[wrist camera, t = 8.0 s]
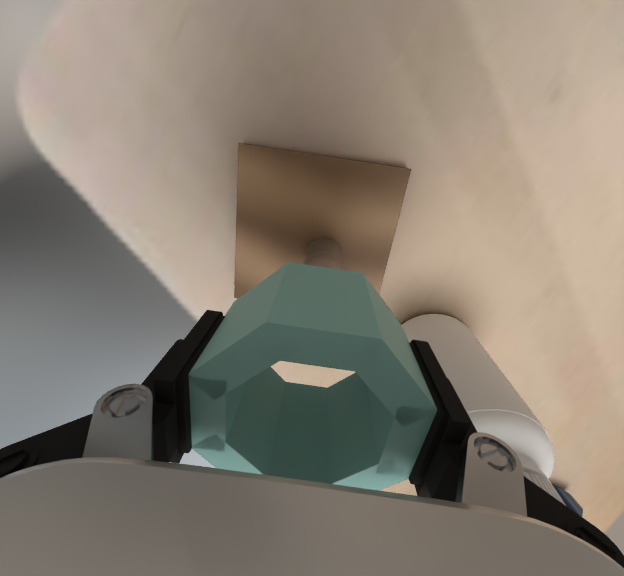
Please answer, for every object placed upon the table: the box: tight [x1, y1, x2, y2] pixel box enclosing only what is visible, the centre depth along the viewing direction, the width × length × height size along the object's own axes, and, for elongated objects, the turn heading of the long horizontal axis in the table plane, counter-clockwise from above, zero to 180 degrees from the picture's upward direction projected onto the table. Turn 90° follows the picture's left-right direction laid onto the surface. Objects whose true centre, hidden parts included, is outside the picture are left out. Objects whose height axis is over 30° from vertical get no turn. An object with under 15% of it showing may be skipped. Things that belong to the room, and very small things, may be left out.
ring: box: [189, 262, 437, 491], centre depth 11 cm, size 7×7×4 cm
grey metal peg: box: [303, 237, 344, 270], centre depth 18 cm, size 3×3×11 cm
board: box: [234, 143, 411, 298], centre depth 23 cm, size 12×12×1 cm
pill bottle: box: [402, 314, 566, 506], centre depth 21 cm, size 8×8×15 cm
